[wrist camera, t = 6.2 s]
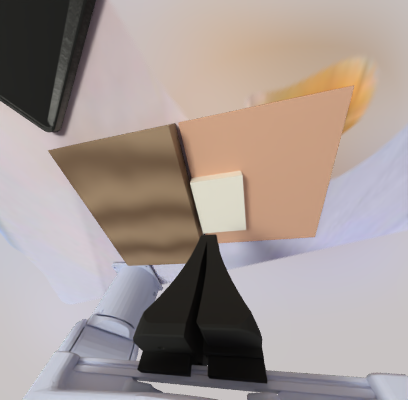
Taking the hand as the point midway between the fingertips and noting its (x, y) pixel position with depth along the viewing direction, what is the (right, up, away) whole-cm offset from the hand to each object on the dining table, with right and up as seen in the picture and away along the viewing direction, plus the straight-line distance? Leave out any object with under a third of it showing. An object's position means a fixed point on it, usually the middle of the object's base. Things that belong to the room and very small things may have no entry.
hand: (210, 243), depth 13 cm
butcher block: (-9, +3, +9) cm, 13 cm away
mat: (+6, +5, +6) cm, 10 cm away
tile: (+2, +3, +7) cm, 8 cm away
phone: (-16, +19, +1) cm, 25 cm away
